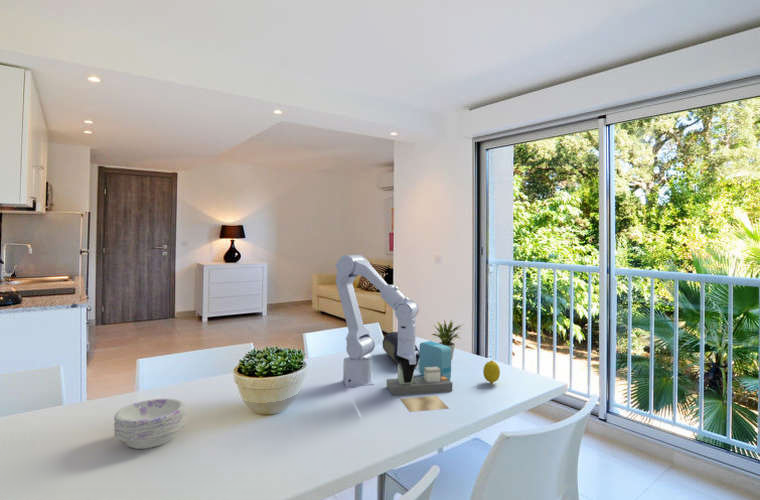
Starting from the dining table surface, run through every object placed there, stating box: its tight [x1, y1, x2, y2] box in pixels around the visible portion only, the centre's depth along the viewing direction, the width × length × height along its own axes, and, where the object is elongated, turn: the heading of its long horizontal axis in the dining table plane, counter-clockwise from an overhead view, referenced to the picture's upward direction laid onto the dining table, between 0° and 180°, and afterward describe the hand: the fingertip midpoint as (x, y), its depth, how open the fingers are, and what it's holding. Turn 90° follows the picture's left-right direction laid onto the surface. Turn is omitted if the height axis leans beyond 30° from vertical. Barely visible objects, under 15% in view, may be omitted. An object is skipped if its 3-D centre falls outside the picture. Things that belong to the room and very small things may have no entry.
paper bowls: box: [113, 398, 186, 450], centre depth 106 cm, size 15×15×8 cm
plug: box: [397, 363, 415, 385], centre depth 141 cm, size 4×3×7 cm, turn 103°
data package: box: [418, 340, 452, 381], centre depth 155 cm, size 12×4×12 cm, turn 36°
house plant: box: [431, 319, 464, 361], centre depth 177 cm, size 14×14×16 cm
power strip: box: [386, 375, 453, 397], centre depth 142 cm, size 20×8×4 cm, turn 103°
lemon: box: [482, 359, 501, 384], centre depth 149 cm, size 6×6×8 cm
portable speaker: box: [382, 331, 419, 365], centre depth 175 cm, size 25×10×10 cm, turn 15°
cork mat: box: [400, 395, 450, 413], centre depth 130 cm, size 12×10×1 cm
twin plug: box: [423, 367, 440, 383], centre depth 143 cm, size 4×3×7 cm, turn 103°
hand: (406, 380), depth 141 cm, fingers closed on plug, 3 cm apart
